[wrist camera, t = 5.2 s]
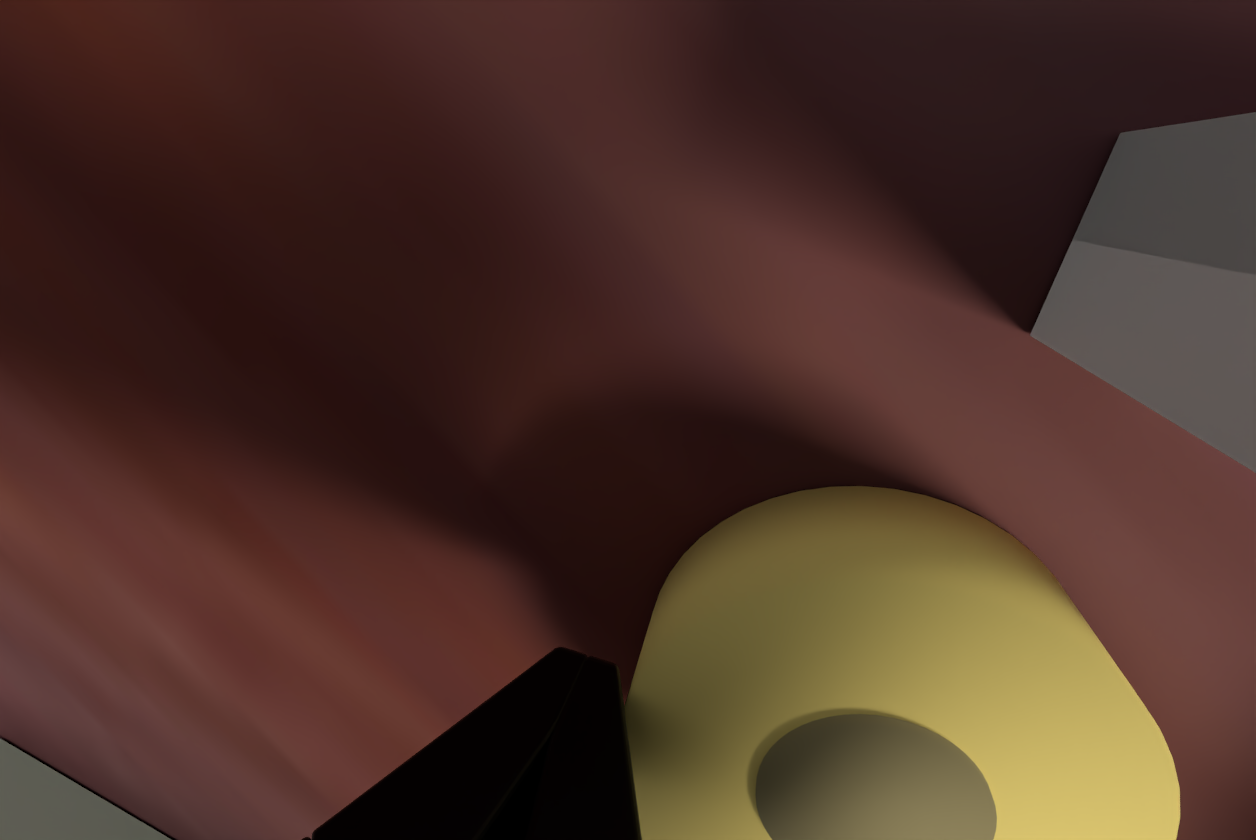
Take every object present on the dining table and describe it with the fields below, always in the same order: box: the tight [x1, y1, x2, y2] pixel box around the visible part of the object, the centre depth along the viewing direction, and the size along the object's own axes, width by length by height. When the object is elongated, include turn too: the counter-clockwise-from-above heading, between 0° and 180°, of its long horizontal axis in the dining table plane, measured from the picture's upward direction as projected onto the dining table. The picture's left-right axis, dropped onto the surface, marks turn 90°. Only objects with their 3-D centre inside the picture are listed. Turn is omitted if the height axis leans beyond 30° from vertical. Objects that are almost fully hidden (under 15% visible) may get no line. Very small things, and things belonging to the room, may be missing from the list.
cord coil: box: [624, 486, 1180, 840], centre depth 8 cm, size 6×6×2 cm
